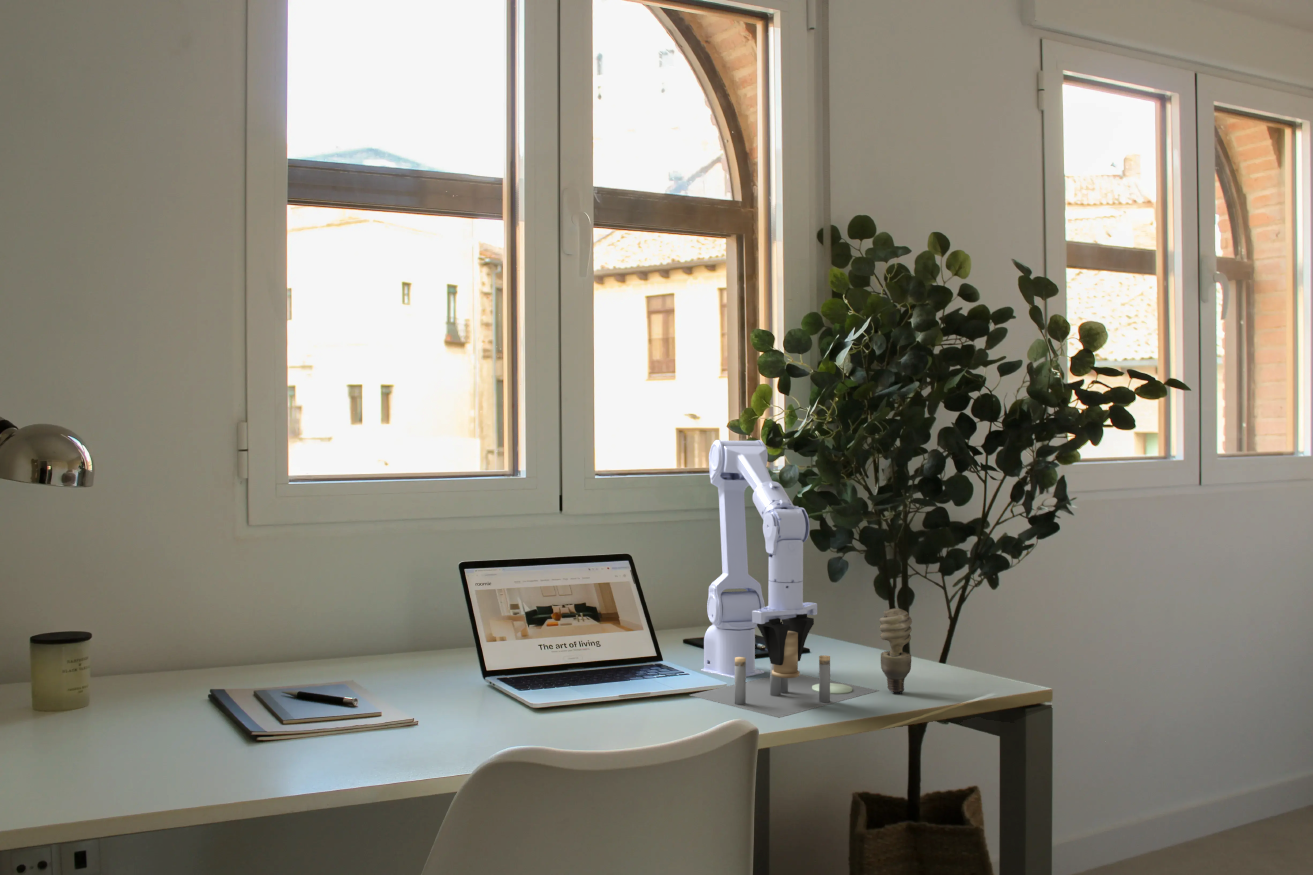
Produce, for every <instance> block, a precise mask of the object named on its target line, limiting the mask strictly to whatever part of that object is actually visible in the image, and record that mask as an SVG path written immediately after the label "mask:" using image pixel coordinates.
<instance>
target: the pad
mask: <svg viewBox="0 0 1313 875" xmlns="http://www.w3.org/2000/svg"><path fill="white" fill-rule="evenodd" d="M812 690H813V691H816V692H819V684H816V685H813V686H812ZM850 692H852V687H850V686H847V685H843V684H835V683H830V694H846V693H850Z"/></svg>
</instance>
